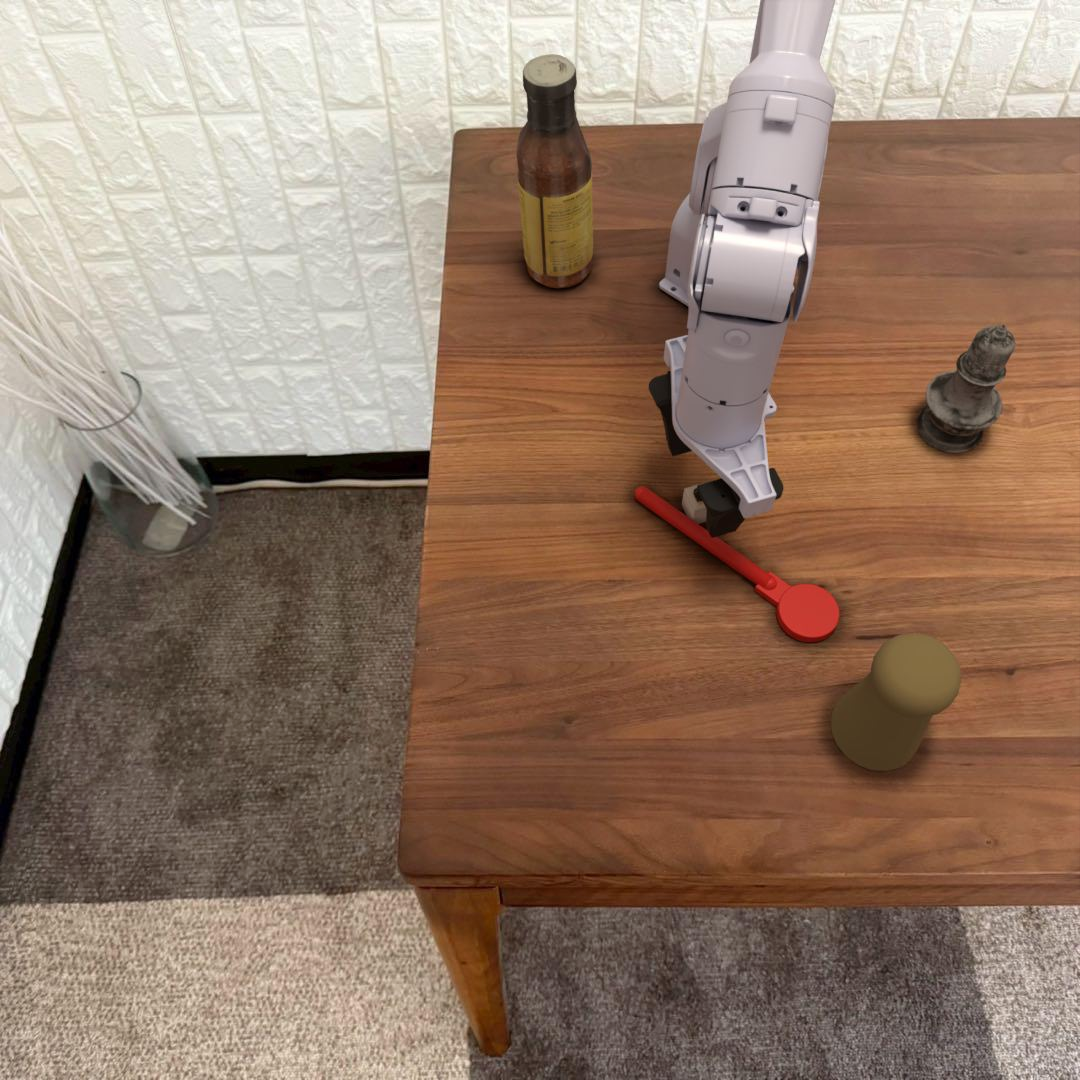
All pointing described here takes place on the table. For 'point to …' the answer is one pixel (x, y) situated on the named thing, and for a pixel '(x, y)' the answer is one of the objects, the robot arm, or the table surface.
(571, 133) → the sauce bottle
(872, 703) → the cork
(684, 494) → the cube with dark pebbles
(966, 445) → the chess piece
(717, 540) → the spoon
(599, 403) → the table surface
